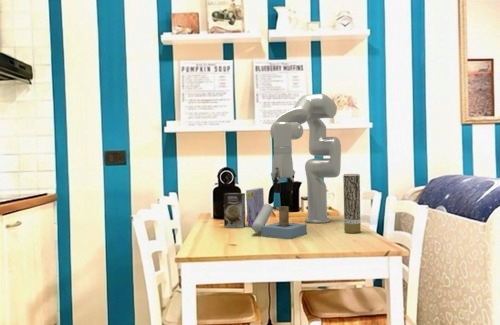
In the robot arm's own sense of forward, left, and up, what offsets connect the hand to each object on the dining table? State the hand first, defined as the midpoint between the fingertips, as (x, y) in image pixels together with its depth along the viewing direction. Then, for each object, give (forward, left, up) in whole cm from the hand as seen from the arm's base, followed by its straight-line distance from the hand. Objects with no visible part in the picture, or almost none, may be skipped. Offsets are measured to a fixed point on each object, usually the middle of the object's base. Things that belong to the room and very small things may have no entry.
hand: (283, 191), depth 195 cm
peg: (0, 0, -18) cm, 18 cm away
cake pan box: (-19, -28, -19) cm, 38 cm away
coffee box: (-7, -32, -19) cm, 38 cm away
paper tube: (-20, +22, -18) cm, 35 cm away
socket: (0, 0, -18) cm, 18 cm away
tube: (-3, -14, -15) cm, 20 cm away
